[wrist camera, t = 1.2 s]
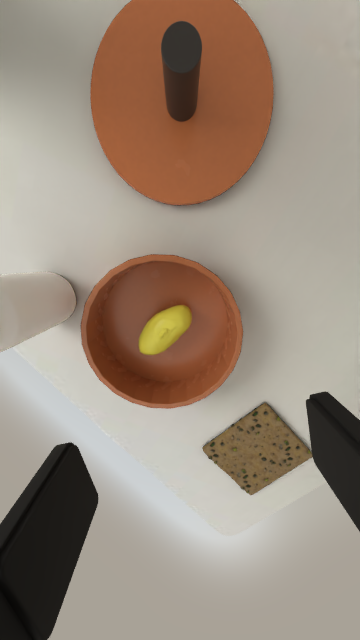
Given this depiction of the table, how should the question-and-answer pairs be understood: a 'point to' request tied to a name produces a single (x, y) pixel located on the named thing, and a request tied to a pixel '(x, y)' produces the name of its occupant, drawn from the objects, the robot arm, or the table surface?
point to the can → (32, 305)
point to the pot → (183, 355)
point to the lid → (181, 97)
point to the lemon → (164, 329)
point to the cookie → (257, 450)
